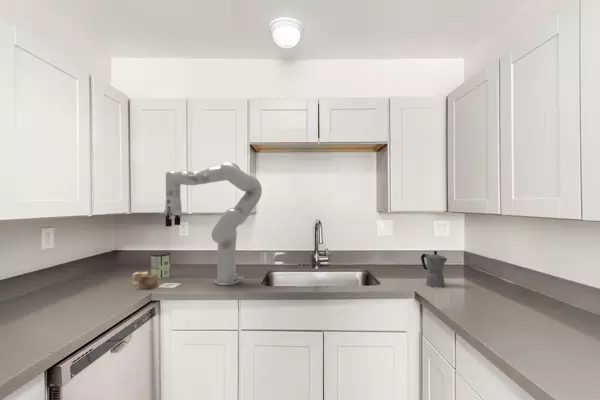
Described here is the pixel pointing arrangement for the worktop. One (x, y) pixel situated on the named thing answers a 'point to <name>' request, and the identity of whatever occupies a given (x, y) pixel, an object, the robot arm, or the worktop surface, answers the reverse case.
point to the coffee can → (160, 264)
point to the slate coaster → (147, 289)
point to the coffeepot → (434, 269)
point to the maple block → (137, 277)
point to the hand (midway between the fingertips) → (173, 225)
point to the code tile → (169, 285)
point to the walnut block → (148, 281)
